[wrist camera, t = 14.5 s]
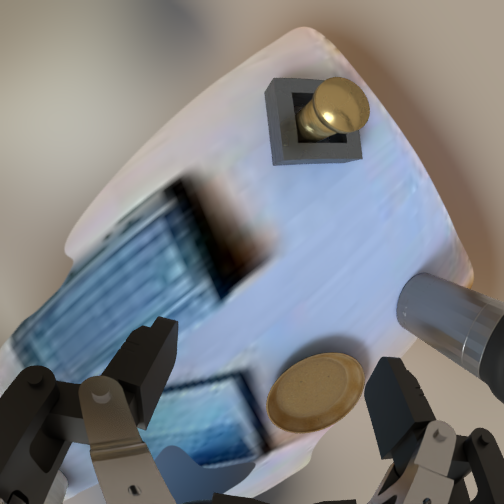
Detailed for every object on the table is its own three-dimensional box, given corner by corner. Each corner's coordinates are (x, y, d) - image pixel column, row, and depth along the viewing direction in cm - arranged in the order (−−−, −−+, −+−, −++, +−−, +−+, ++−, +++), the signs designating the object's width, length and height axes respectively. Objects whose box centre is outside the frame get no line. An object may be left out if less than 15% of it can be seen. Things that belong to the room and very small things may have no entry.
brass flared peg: (319, 111, 31) (364, 80, 20) (324, 150, 32) (373, 132, 21) (279, 111, 30) (312, 75, 20) (284, 152, 31) (321, 130, 21)
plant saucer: (246, 415, 37) (249, 427, 34) (290, 332, 36) (296, 341, 33) (327, 426, 40) (333, 436, 38) (373, 354, 39) (381, 363, 36)
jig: (334, 95, 31) (350, 83, 27) (343, 163, 33) (362, 158, 28) (264, 92, 30) (273, 77, 25) (272, 165, 31) (283, 160, 27)
